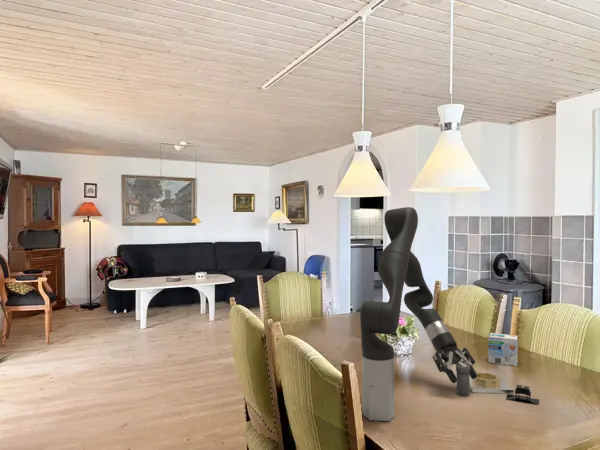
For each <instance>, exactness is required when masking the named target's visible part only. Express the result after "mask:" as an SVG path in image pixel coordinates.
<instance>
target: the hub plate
mask: <svg viewBox="0 0 600 450" xmlns="http://www.w3.org/2000/svg"><path fill="white" fill-rule="evenodd" d="M476 373H477V377H476V378H475V379H472V378H471V376H470V375H469V378H470V392H472V393H476V394H478V393H479V394H480V393H484V394H511V395H515V394H514V393H515V389H513V388H512V387H511V386H510V385H509V384H508V383H507V382H506V381H505V380H504V379H503V378H502V377H501V376H500V375H497V374H495V373H489V372H481V371H480V372H476Z"/></svg>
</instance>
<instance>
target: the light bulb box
mask: <svg viewBox="0 0 600 450" xmlns="http://www.w3.org/2000/svg"><path fill="white" fill-rule="evenodd" d="M518 338H519V337H518V335H515V334H514V335H513V334H505V333H504V334H503V333H497V332H496V333H494V332H490V333H489V335H488V345H487V346H488V347H487V348H488V354H487V355H488V356H487V357H488V363H490V364H497V363H498V365H504V364H505V365H506V366H511V365H513V366H512V367H517V366H518V355H519V354H518V353H519V349H518V347H519V343H518V340H519V339H518Z"/></svg>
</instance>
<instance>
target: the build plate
mask: <svg viewBox="0 0 600 450" xmlns="http://www.w3.org/2000/svg"><path fill="white" fill-rule="evenodd" d="M514 393H515V394H508V393H506V396H505V397H506V398H505V400H506V401H511V402H516V401H517V403H520V404H521V403H523V404H527V405H533V406H539V405H540V399H539V398H534V397H531V396H532V392H531V389H530V386H528V385H524V386H523V385H521V384H516V387H515V389H514ZM538 404H539V405H538Z"/></svg>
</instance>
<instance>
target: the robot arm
mask: <svg viewBox="0 0 600 450" xmlns="http://www.w3.org/2000/svg"><path fill="white" fill-rule="evenodd" d="M383 218H384V221H383V222H384V225H385V230H386V232H387V235H388V237H389V240H390V242H389V244H387V246H386V247H385V248H384V249H383V250H382V252H381V254H380V257H379V262H378V266H377V271H378V276H379V278H380V280H381V282H382V284H383V285H384V287H385V289H386V291H387V294H388V296H389V298H388V301H375V300H374V301H372V300H367V301H363V303H362V305H361V308H360V315H359V316H360V317H359V318H360V333H361V335H360V336H361V337H360V338H361V351H362V353H361V355H362V367H361V369H362V370H361V371H362V374H361V375H362V378H361V379H362V380H361V381H362V382H361V383H362V415H363V416H364V417H365V418H367V419H368V421H373V420H374V421H375V422H376V421H377V422H380V421H381V422H391V421H392V419H393V418H394V417H395V360H394V359H395V350H394V347H393V346H392V345H391V344H389V343H388V342H386V341H384V340H382V339H381V338H379V337H378V336H377V334H380V335H394V334H395V333H396V332H397V330H398V327H399V324H400V315H401V308H402V307H401V305H402V300H403V302H404V305H405V306H406V308H407V309H408V310H409V311H410V312H411V314H413V315H414V316H415V317H416V318H417V319H418V321H419V322H420V323H421V325H422V326H423V329H424V331H425V333H426V335H427V337H428V339H429V341H430V343H431V344H432V346H433V348H434V350H435V351H436V352H435V353H434V354H433V355H432V357H431V358H432V359H433V361H434V363H435V365H436V368H437V369H438V372H439V373H442V372H443V373H445V374H446V376H447V377H448V379H449V380H450V382H451V383H452V384H455V383H456V384H457V381H458V380H457V375H456V373H455V372H454V370H453V369H452V366H453V365H456V364H457V363H465V364H469V365H470V373H469V375H470V376H471V378H472V379H475V378H476V377H477V373H478V372H477V371H476V370H475V368H474V367H473V365H474V364H476V360H475V359H474V358H473V356H472V355H471V353H470V352H469V350H468V349H467V347H463V348H462V349H459V348H458V344H457V341H456V340H455V338H454V336H453V334H452V332H451V331H450V329H449V328H448V327H447V325H446V323H445V322H444V321H443V319H442V318H441V316H440V314H439V313H438V311H437V310H436V309H434V308H425V307H428V306H431V304H433V302H434V296H433V293H432V291H431V290H430V289H429V286H428V285H427V283H426V281H425V278H424V275H423V272H422V270H423V269H422V265H421V263H420V261H419V259H418V257H417V256H416V255H415V254H414V253H413V251H412V250H411V249H412V245H413V242H414V238H415V237H416V232H417V230H418V226H419V225H418V224H419V215H418V212H417V210H416V209H415V208H414V207H411V206H406V207H399V208H398V207H397V208H393V209H388V210H386V212H385V213H384V217H383ZM405 285H406V286H407V287H409V288H418V289H414V290H411V291H409V292H406V293H405V294H404V296H403V290H404V286H405ZM402 297H403V299H402ZM374 421H373V422H374Z"/></svg>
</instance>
